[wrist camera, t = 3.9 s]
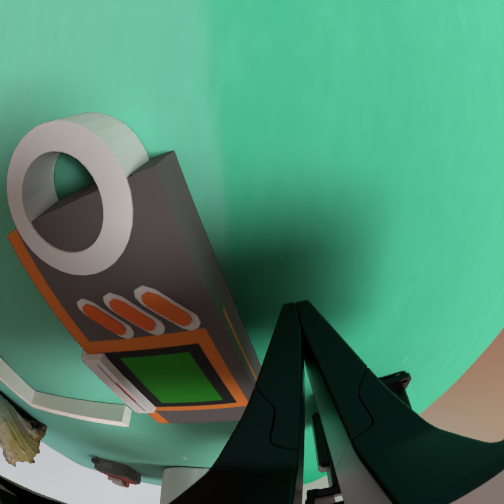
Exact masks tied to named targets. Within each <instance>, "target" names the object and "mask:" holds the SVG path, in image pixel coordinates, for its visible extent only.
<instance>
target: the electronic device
mask: <svg viewBox="0 0 504 504" xmlns="http://www.w3.org/2000/svg"><path fill="white" fill-rule="evenodd" d="M61 152H63V153H66V154H69V155H71V156H73V157H74V158H76V159H77V160H79V161H80V162H81V163H82V164H83V165H84V166H85V167H86V168H87V170H88V171H89V172H90V174H91V175H92V176H93V178H94V180H95V183H92V184H90V185H88V186H86V187H84V188H82V189H80V190H78V191H76V192H74V193H72V194H70V195H68V196H66V197H64V198H62V199H60V200H59V199H58V197H57V194H56V191H55V186H54V169H55V165H56V161H57V159H58V157H59V155H60V153H61ZM97 189H99V190H97ZM95 190H97V191H95ZM93 191H94V192H93ZM90 192H92V193H90ZM88 193H90V194H88ZM86 194H88V195H86ZM84 195H86V196H84ZM82 196H83V197H82ZM7 197H8V204H9V208H10V212H11V216H12V218H13V221H14V223H15V225H16V228H15V229H14V230H13V231H12V232H11V233H9V234H8V236H7V237H8V239H9V241H10V243H11V245H12V247H13V248H14V250H15V252H16V254H17V256H18V257H19V259H20V261H21V263H22V264H23V266H24V268H25V269H26V271H27V273H28V274H29V276H30V278H31V279H32V281H33V282H34V284H35V285H36V287H37V289H38V290H39V292H40V293H41V295H42V296H43V297H44V299H45V300H46V302H47V303H48V305H49V306H50V307H51V309H52V310H53V312H54V313H55V314H56V316H57V317H58V318H59V320H60V321H61V322H62V324H63V325H64V326H65V328H66V329H67V330H68V331H69V333H70V334H71V335H72V336H73V338H74V339H75V340H76V341H77V342H78V344H79V345H80V346H81V347H82V348H83V349H84V350H83V352H82V355H81V357H82V361H83V362H84V363H85V364H86V365H87V366H88V367H89V368H90V369H91V370H92V371H93V372H94V373H95V374H96V375H97V376H98V377H99V378H100V379H101V380H102V381H103V382H104V383H105V384H106V385H107V386H108V387H109V388H110V389H111V390H112V391H113V392H114V393H115V394H116V395H117V396H118V397H119V398H121V399H122V400H123V401H124V402H125V403H126V404H127V405H128V406H129V407H131V408H132V409H133V410H134V411H135V412H136V413H148V414H149V415H150V416H151V417H152V418H154V419H155V420H156V421H157V422H158V423H207V422H225V421H238V420H240V419H241V417H242V415H243V413H244V411H245V408H246V406H247V404H248V401H249V399H250V396H251V394H252V391H253V389H254V388H255V387H254V386H255V383H256V381H257V378H258V375H259V372H260V369H261V365H260V362H259V360H258V358H257V355H256V353H255V351H254V348H253V346H252V344H251V341H250V339H249V337H248V334H247V332H246V329H245V327H244V325H243V322H242V320H241V317H240V315H239V313H238V310H237V308H236V305H235V303H234V300H233V298H232V296H231V293H230V291H229V289H228V286H227V284H226V281H225V279H224V277H223V274H222V272H221V269H220V267H219V265H218V262H217V260H216V257H215V255H214V252H213V250H212V247H211V245H210V243H209V240H208V238H207V235H206V233H205V230H204V228H203V225H202V223H201V220H200V217H199V215H198V212H197V210H196V207H195V205H194V202H193V199H192V197H191V194H190V192H189V189H188V186H187V184H186V181H185V178H184V176H183V173H182V170H181V168H180V165H179V162H178V160H177V157H176V154H175V151H171V152H168V153H166V154H163V155H160V156H157V157H155V158H152V159H149V157H148V155H147V153H146V151H145V149H144V147H143V145H142V143H141V142H140V140H139V139H138V138H137V136H136V135H135V133H134V132H133V131H132V130H131V129H129V128H128V127H127V126H126V125H125V124H124V123H123V122H121V121H119V120H117V119H116V118H114V117H112V116H109V115H106V114H102V113H93V112H87V113H82V114H77V115H73V116H69V117H65V118H61V119H57V120H53V121H50V122H46V123H42V124H40V125H38V126H37V127H35V128H33V129H32V130H30V131H29V132H28V133H27V134H26V135H25V136H24V137H23V138H22V139H21V141H20V142H19V144H18V145H17V147H16V149H15V150H14V153H13V155H12V158H11V160H10V164H9V168H8V174H7ZM80 197H81V198H80ZM77 198H79V199H77ZM75 199H77V200H75ZM73 200H75V201H73ZM71 201H73V202H71ZM69 202H70V203H69ZM67 203H68V204H67ZM65 204H66V205H65ZM63 205H64V206H63Z"/></svg>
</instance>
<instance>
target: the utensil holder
mask: <svg viewBox="0 0 504 504" xmlns="http://www.w3.org/2000/svg"><path fill="white" fill-rule="evenodd" d="M208 470H209V469H208V468H190V467H171V468H166V469H164V472H163V480H162V488H161V498H160V504H168V503H170V502H171V501H172V500H174V499H175V498H176V497H178V496H179V495H180V494H181V493H183V492H184V491H185V490H186V489H188V488H189V487H190V486H191V485H193V484H194V483H195V482H196V481H197V480H199V479H200V478H201V477H202V476H203V475H204V474H205V473H206V472H207V471H208Z"/></svg>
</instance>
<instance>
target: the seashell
mask: <svg viewBox="0 0 504 504" xmlns="http://www.w3.org/2000/svg"><path fill="white" fill-rule="evenodd" d="M46 430H47V426H46V425H45V424H42V423H39V422H37V421H34V420H27V419H23V418H22V416H21V415H20V414H19V413H18V412H17V411H16V410H15V408H14V407H13V406H12V405H11V404H10V403H9V402H8V400H6V399H4V397H3V396H2V395H1V394H0V447H2V448H3V455H4V457H5V458H6V461H7V462H8V463H9V464H12V465H13V466H16V464H15V462H17V461H21V462H24V461H28V462H29V463H30V464H31V463H35V461H34V460H33V457H35V455H36V454H37V453H40V452H39V445H40V440H41V439H42V438H43V437H44V435H45V434H46Z"/></svg>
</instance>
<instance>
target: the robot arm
mask: <svg viewBox="0 0 504 504" xmlns="http://www.w3.org/2000/svg"><path fill="white" fill-rule="evenodd" d="M304 362H305V367H306V370H307V374H308V377H309V380H310V384H311V387H312V390H313V394H314V397H315V401H316V404H317V413H314V414H313V415H312V430H313V437H314V444H315V451H316V458H317V465H318V471H320V472H321V473H322V472H327V476H328V483H329V488H324V489H312V490H308V491H307V500H306V501H305V504H504V439H503V440H501V441H499V442H493V443H488V442H483V441H479V440H475V439H472V438H468V437H465V436H461V435H458V434H454V433H451V432H448V431H444V430H442V429H439V428H437V427H434V426H433V425H431V424H429V423H428V422H426V421H425V420H424V419H423V418H421V417H420V416H419V415H418V414H417V413H416V412H414V411H413V410H412V408H411V405H410V402H409V399H408V396H407V393H406V390H405V389H406V388H407V386H408V384H409V382H410V380H411V376H410V374H409V373H404V374H401V375H397V376H394V377H391V378H387V379H384V380H381V381H380V380H379V379H378V378H377V376H376V375H375V374H374V373H373V372H372V371H371V370H370V369H369V368H367V365H366V364H365V363H364V362H363V361H362V360H361V359H360V357H359V356H358V355H357V354H356V353H355V352H354V351H353V350H352V348H351V347H350V346H349V345H348V344H347V343H346V342H345V341H344V339H343V338H342V337H341V336H340V335H339V334H338V333H337V332H336V330H335V329H334V328H333V327H332V326H331V325H330V324H329V323H328V321H327V320H326V319H325V318H324V317H323V316H322V315H321V314H320V313H319V311H318V310H317V309H316V308H315V307H314V306H313V305H312V304H311V303H310V301H308V300H304V301H298V302H296V303H294V302H292V303H286V304H283V306H282V308H281V311H280V314H279V317H278V320H277V323H276V326H275V329H274V332H273V335H272V338H271V341H270V344H269V347H268V350H267V353H266V355H265V358H264V361H263V364H262V367H261V369H260V372H259V375H258V378H257V381H256V383H255V386H254V387H255V388H254V389H253V391H252V394H251V396H250V399H249V401H248V404H247V406H246V408H245V411H244V413H243V415H242V417H241V419H240V421H239V423H238V424H237V426H236V428H235V430H234V432H233V433H232V435H231V437H230V438H229V440H228V442H227V444H226V445H225V447H224V449H223V450H222V452H221V454H220V455H219V457H218V458H217V460H216V461H215V463H214V464H213V465H212V467H211V468H210V469H209V470H208V471H207V472H206V473H205V474H204V475H203V476H202V477H201V478H200V479H199V480H197V481H196V482H195V483H194V484H193V485H191V486H190V487H189V488H188V489H186V490H185V491H184V492H183V493H181V494H180V495H179V496H178V497H176V498H175V499H174V500H172V501H171V502H170V503H168V504H302V490H303V468H304V430H305V375H304ZM341 495H342V497H343V501H340V502H335V498H334V497H337V496H341ZM0 504H67V503H64V502H61V501H58V500H55V499H53V498H50V497H47V496H45V495H42V494H39V493H37V492H34V491H32V490H30V489H28V488H25V487H23V486H21V485H19V484H17V483H15V482H12V481H11V480H8V479H7V478H4V477H2V476H1V475H0Z"/></svg>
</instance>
